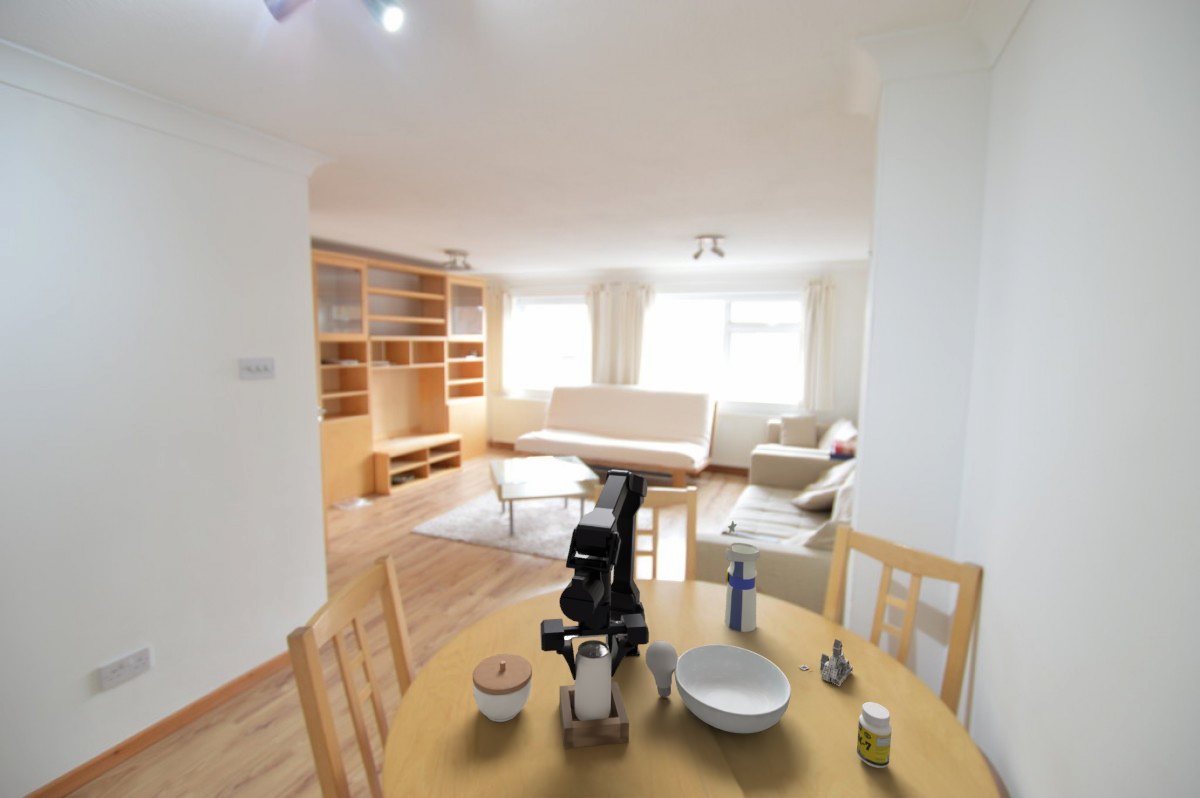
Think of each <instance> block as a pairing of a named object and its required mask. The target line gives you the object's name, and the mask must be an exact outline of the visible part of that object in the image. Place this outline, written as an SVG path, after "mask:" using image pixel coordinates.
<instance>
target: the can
mask: <svg viewBox="0 0 1200 798" xmlns="http://www.w3.org/2000/svg"><path fill="white" fill-rule="evenodd" d="M574 659H575V667H576V680H574V685H575V708H574V715H575V716H576V718H577V719H578V721H583V720H594V719H605V718H610V717H609V716H610V714H611V710H612V709H611V682H612V677H611V654H610V651H609V647H608V645H607V644H606V642H603V641H601V640H595V639H592V640H591V639H590V640H585V641H582V642H581V643H580V644H579V645H578V647H577V652H576V654H575V656H574Z"/></svg>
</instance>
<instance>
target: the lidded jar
mask: <svg viewBox="0 0 1200 798" xmlns="http://www.w3.org/2000/svg"><path fill="white" fill-rule="evenodd" d="M532 676H533V668H532V664H531V662H530V661H529V660H528V659H527V658H525V657H524V656H521V655H518V654H513V653H500V654H496V655H492V656H489V657H487V658H485V659H483V660H481V661H480V662H479V663H478V664H477V665H476V666H475V668H474V669H473V671H472V684H473V685H472V686H473V688H472V689H473V695H474V696H473V697H474V699H475V704H476V705H477V708H478V710H479V711H480V712H481V713H482V714H483V715H484V716H486V717H487V719H489V720H490V721H491V722H495V723H504V722H507V721H508V722H509V721H511V720H512V719H514V718H515V717H516V716H518V714H519V713H520V712H521V711H522V710H523V708H524V707H525V706H526V704H527V702H528V700H529V698H530V694H531V687H532Z"/></svg>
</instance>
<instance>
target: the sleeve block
mask: <svg viewBox="0 0 1200 798" xmlns="http://www.w3.org/2000/svg"><path fill="white" fill-rule="evenodd" d="M558 701H559V703H558V704H559V712H560V713H559V714H560V721H561V722H560V723H561V732H562V740H563V741H562V742H563V749H574V748H582V747H591V746H592V747H593V746H603V745H611V744H612V745H613V744H620V743H621V744H623V743H624V744H625V743H629V736H630V735H629V734H630V722H629V718H628V714H627V710H626V708H625V704H624V701H623V698H622V693H621V690H620V687H619V683H618V681H611V709H610V710H611V712H612V716H613V717H608V718H605V719H594V720H583V721H580V720H575V721H573V716H572V709H575V684H568V685H559V700H558Z"/></svg>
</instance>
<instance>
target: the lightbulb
mask: <svg viewBox="0 0 1200 798" xmlns="http://www.w3.org/2000/svg"><path fill="white" fill-rule="evenodd" d="M644 656H645V664H646V666H647V668H648V669H649V671H650V672H651V673H652V675H653V678H654V681H655V685H656V688H657V694H658V696H659V697H661V698H668V697H670V696H671V694H672V683H673V681H672V680H673V673H674V669H675V667H676V665H677V660H678V658H679V657H678V653H677V650H676V648H675V647H674V646H673V645H672V644H671V643H670V642H668V641H666V640H656V641H653V642H652V643H650V645H648V647H647V648H646V652H645V655H644Z"/></svg>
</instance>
